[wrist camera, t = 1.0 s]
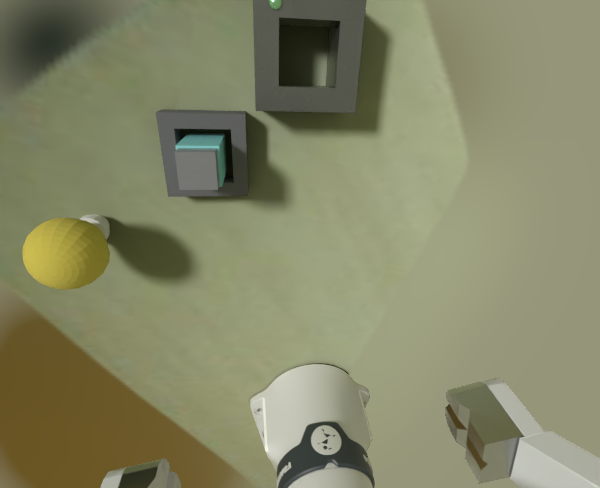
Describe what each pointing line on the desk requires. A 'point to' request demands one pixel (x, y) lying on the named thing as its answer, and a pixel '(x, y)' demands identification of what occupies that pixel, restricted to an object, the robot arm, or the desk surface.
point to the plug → (201, 161)
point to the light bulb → (68, 251)
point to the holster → (204, 119)
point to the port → (340, 64)
